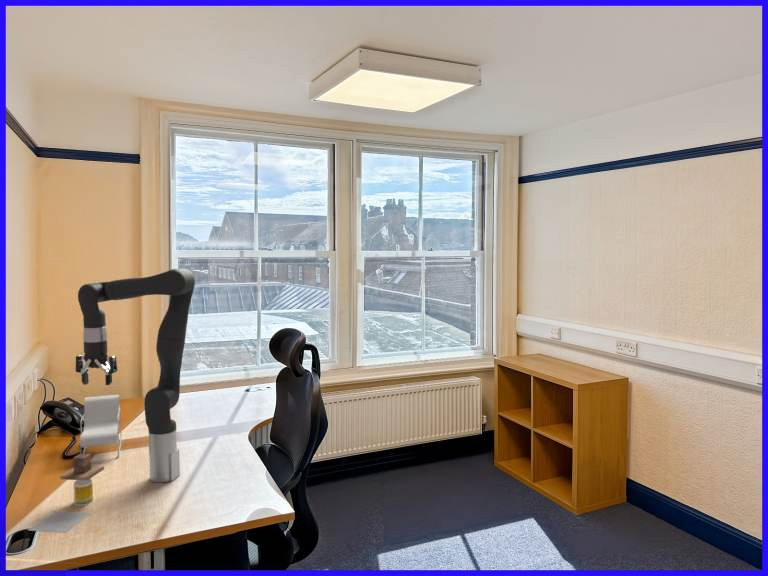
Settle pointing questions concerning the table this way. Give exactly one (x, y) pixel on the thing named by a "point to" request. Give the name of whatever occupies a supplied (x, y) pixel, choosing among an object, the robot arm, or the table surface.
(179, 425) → the table surface
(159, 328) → the robot arm
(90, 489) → the supplement bottle
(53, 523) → the mat
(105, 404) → the chair
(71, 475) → the lid
